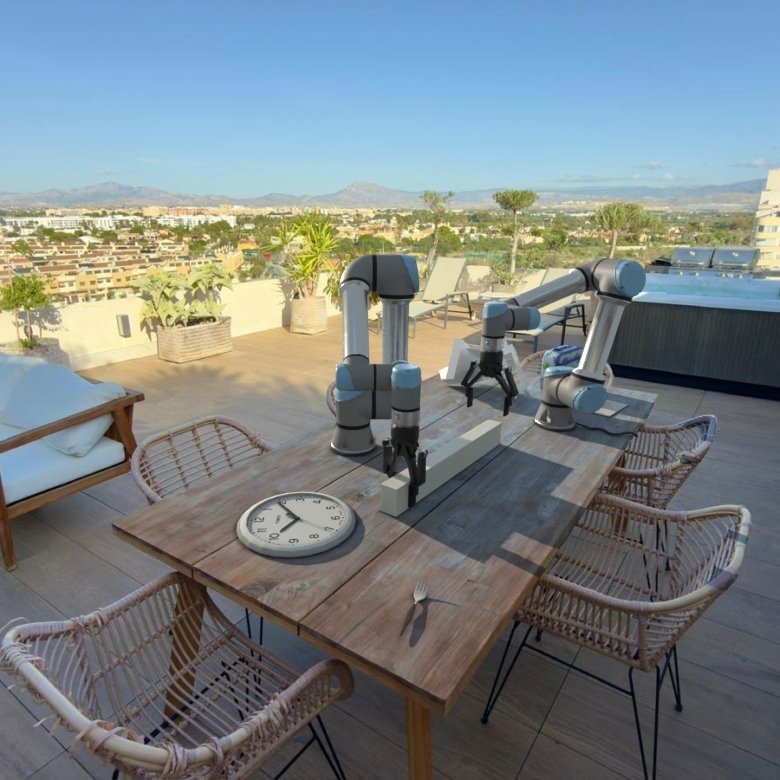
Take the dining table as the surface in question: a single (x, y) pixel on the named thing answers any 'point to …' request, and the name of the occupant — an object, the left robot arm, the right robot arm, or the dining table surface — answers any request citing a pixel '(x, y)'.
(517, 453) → the dining table surface
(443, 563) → the dining table surface
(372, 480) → the dining table surface
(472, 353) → the white plastic object
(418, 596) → the fork
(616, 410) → the invitation card
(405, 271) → the left robot arm
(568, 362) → the lunch box
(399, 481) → the beam
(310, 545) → the wall clock
